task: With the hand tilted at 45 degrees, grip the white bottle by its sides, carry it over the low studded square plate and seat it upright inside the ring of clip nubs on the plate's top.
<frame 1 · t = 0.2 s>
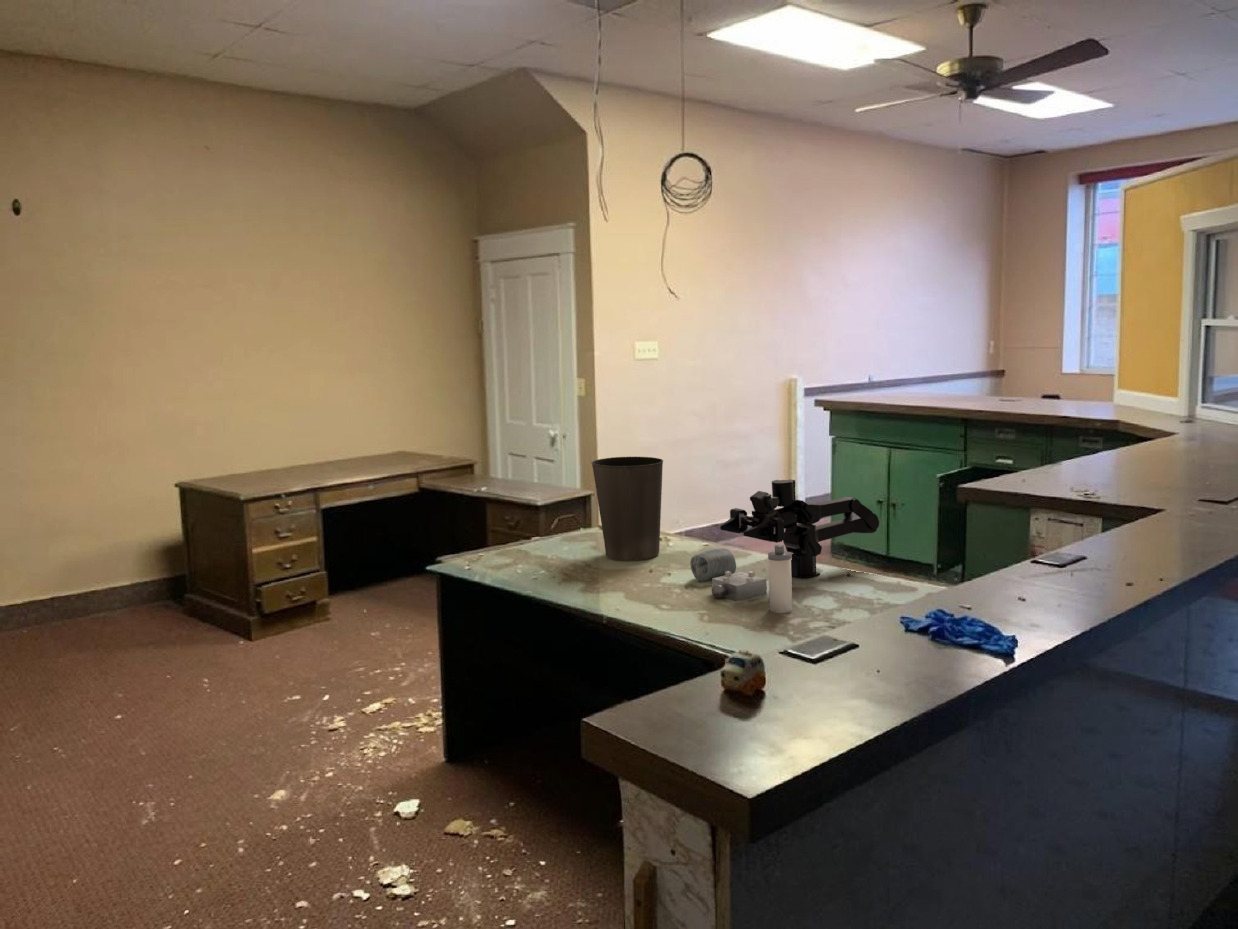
hand: (732, 530, 240), 17 cm above the countertop, fingers open, 9 cm apart
white bottle: (781, 609, 225), on the countertop
studded square plate: (739, 593, 241), on the countertop
spool: (713, 579, 258), on the countertop
waste basket: (632, 555, 291), on the countertop
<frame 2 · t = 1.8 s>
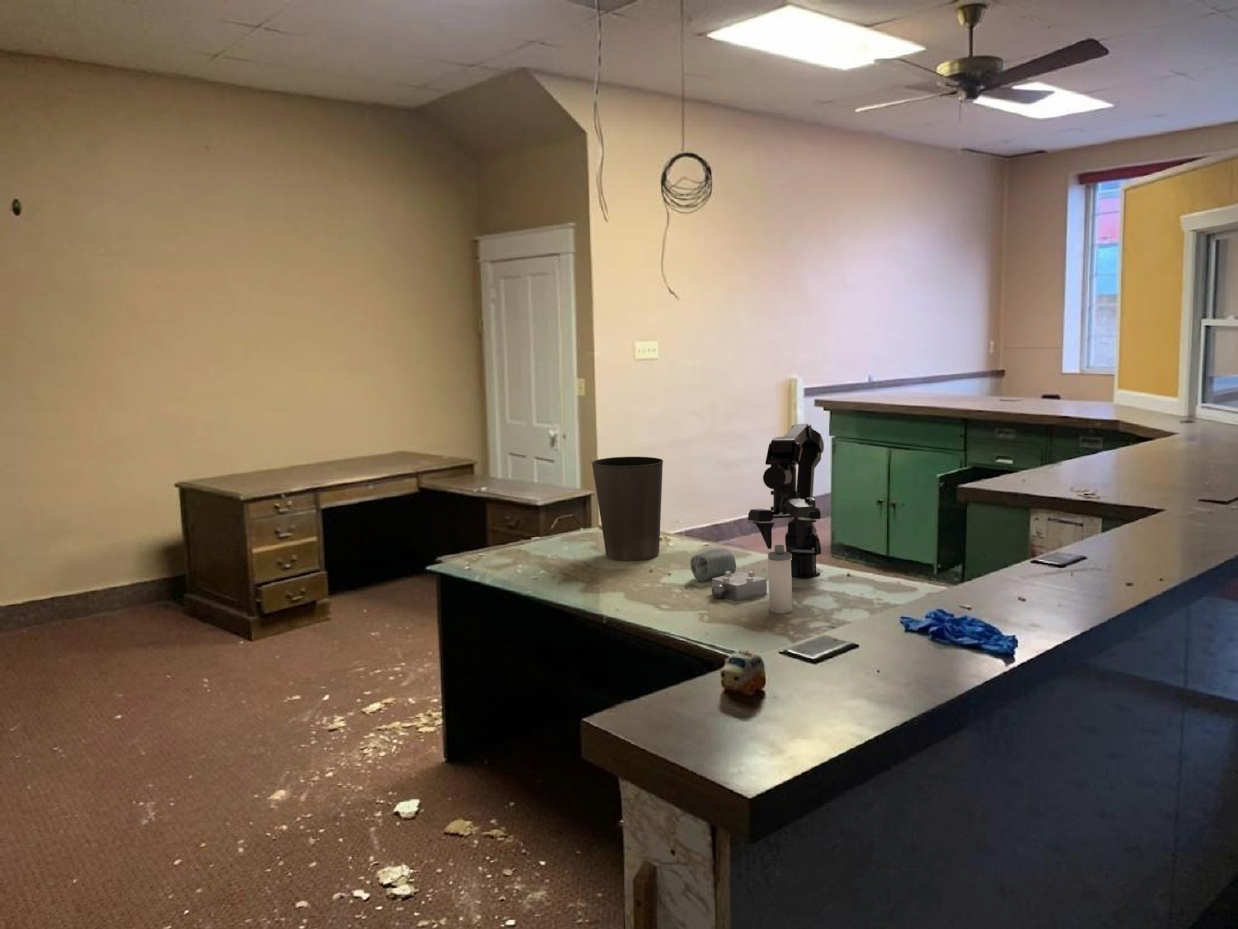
hand: (784, 547, 237), 12 cm above the countertop, fingers open, 9 cm apart
nothing on the countertop moved.
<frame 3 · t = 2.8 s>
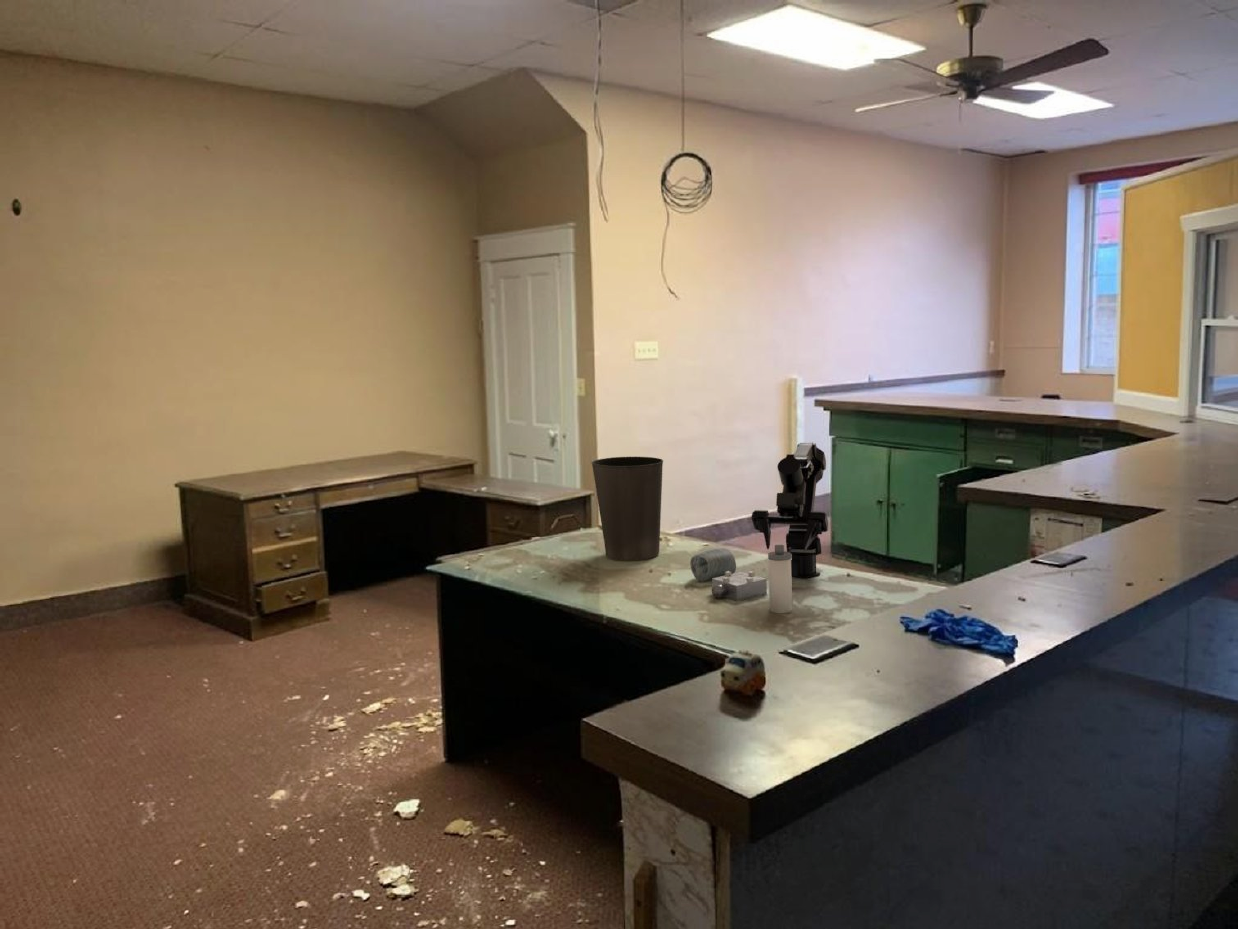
hand: (785, 549, 231), 13 cm above the countertop, fingers open, 9 cm apart
nothing on the countertop moved.
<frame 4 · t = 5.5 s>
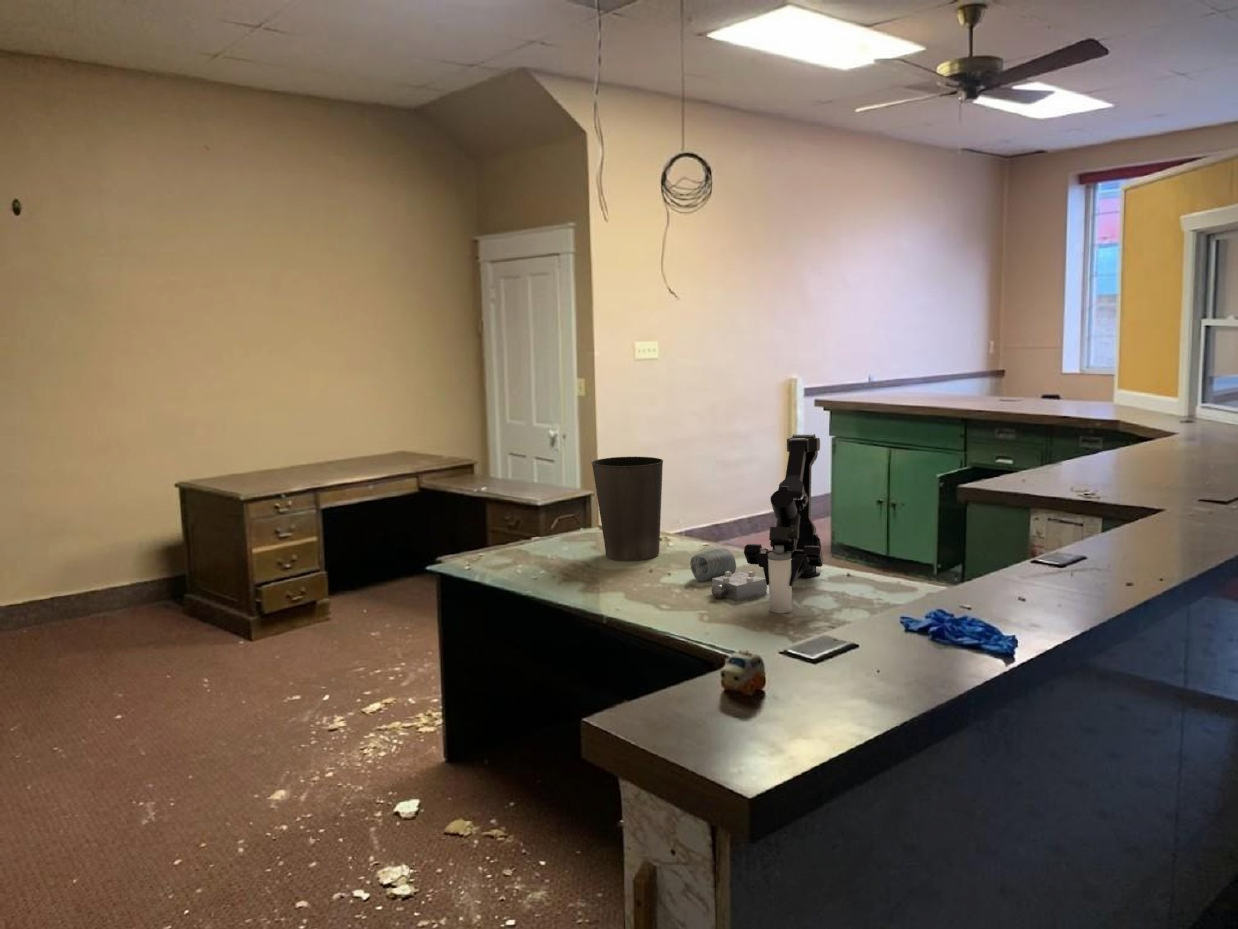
hand: (779, 585, 223), 7 cm above the countertop, fingers closed on white bottle, 5 cm apart
white bottle: (781, 609, 225), on the countertop, touching gripper
everything else where it was.
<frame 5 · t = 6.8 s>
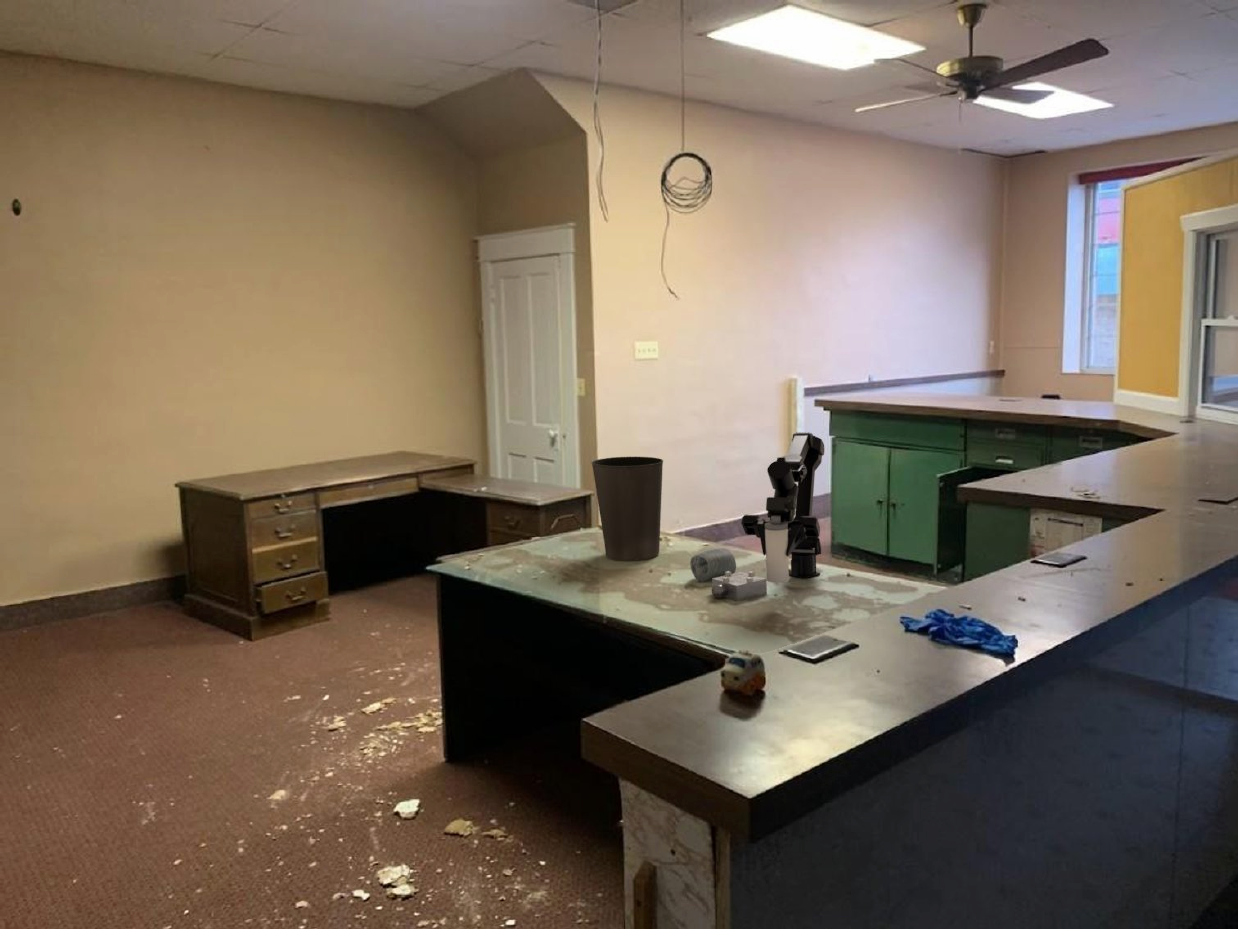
hand: (775, 554, 225), 13 cm above the countertop, fingers closed on white bottle, 5 cm apart
white bottle: (777, 579, 227), point 7 cm above the countertop, touching gripper
everything else where it was.
when the fingers open (11 cm above the countertop, at t = 8.6 s): white bottle stays where it is, resting on studded square plate.
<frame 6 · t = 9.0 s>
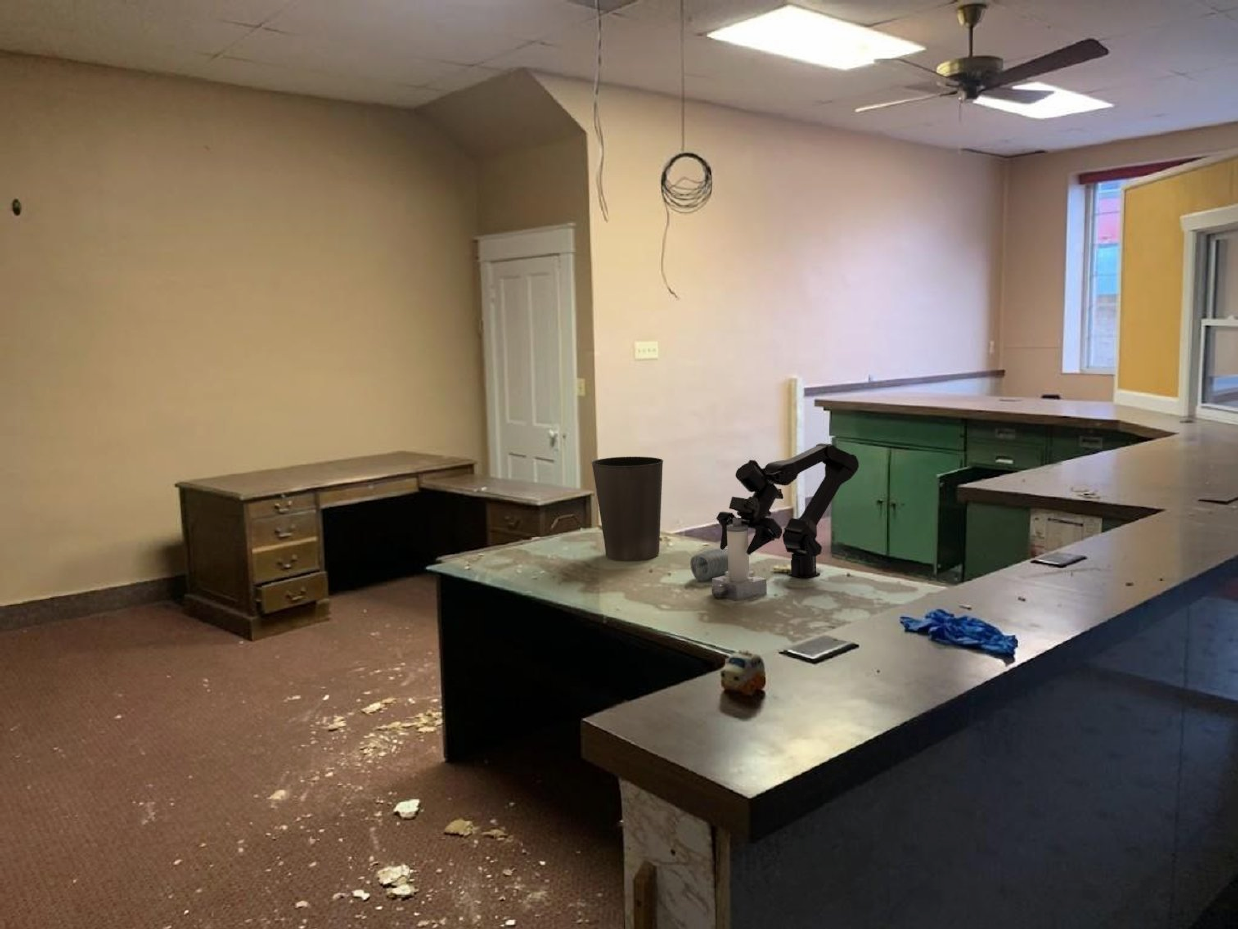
hand: (734, 551, 239), 12 cm above the countertop, fingers open, 9 cm apart
white bottle: (739, 578, 241), point 4 cm above the countertop, touching studded square plate
everything else where it was.
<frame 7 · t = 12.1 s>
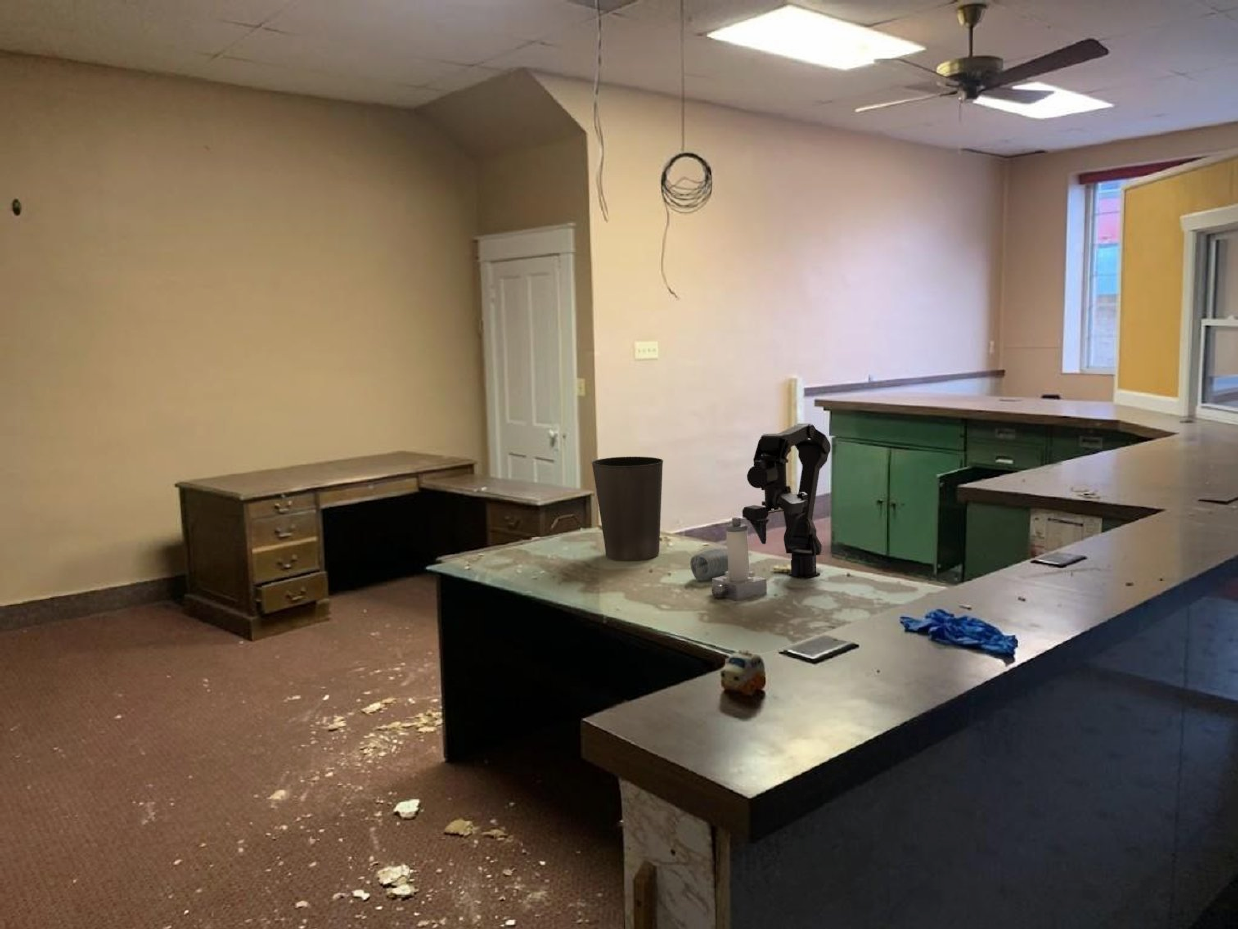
hand: (777, 541, 242), 13 cm above the countertop, fingers open, 9 cm apart
nothing on the countertop moved.
at the end: white bottle 0.0 cm off-centre on the studded square plate, point 4.0 cm above the studded square plate's base; white bottle tilted 1°; the gripper is holding nothing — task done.
